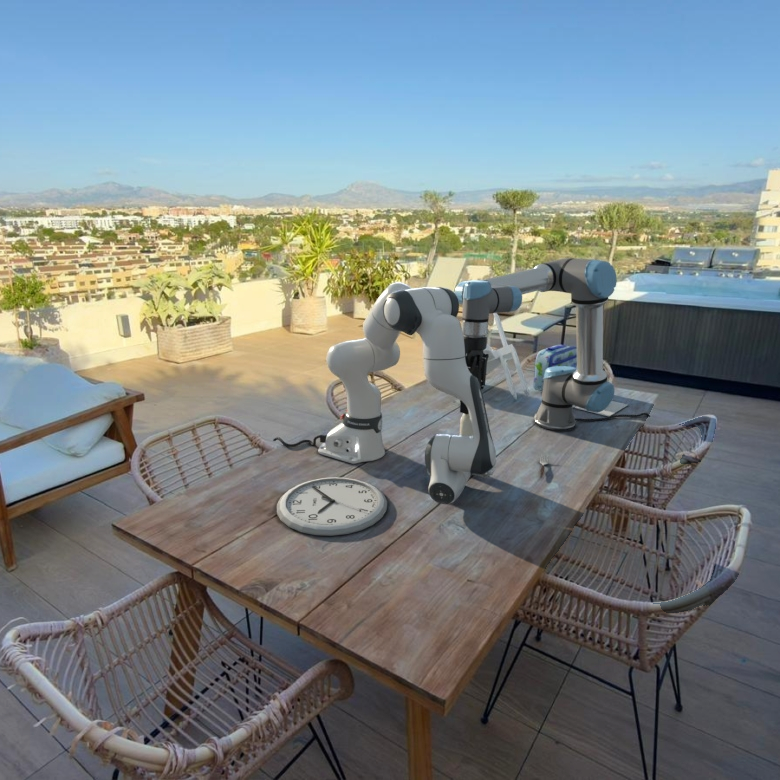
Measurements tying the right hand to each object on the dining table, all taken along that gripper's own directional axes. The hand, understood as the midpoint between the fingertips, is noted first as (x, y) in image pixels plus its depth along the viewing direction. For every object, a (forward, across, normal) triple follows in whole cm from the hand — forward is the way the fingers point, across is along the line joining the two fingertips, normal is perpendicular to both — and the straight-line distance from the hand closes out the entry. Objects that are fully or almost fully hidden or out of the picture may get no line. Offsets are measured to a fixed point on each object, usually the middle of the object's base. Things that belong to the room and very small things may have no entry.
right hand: (469, 410), depth 158 cm
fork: (+20, -19, +16) cm, 32 cm away
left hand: (+14, -1, 0) cm, 14 cm away
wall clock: (+20, +44, -12) cm, 50 cm away
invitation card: (+20, -94, +4) cm, 96 cm away
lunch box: (+20, -102, -23) cm, 107 cm away
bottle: (+20, 0, 0) cm, 20 cm away
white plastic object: (+20, -72, -45) cm, 87 cm away
